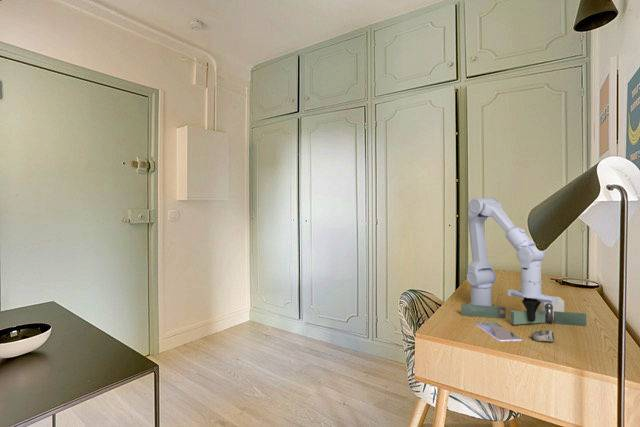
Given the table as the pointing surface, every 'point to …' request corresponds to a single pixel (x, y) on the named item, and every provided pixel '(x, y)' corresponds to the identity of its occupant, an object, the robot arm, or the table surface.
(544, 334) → the wristwatch
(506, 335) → the mobile phone
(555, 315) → the hinge post
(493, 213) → the robot arm
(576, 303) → the table surface
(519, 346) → the table surface
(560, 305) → the off-white chamfered cube
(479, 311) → the latch stile
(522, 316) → the sage green stepped bar
